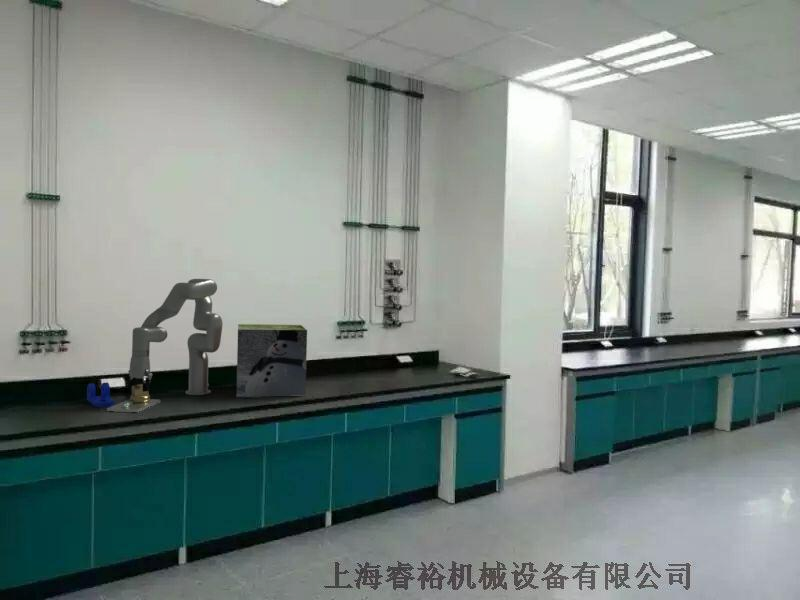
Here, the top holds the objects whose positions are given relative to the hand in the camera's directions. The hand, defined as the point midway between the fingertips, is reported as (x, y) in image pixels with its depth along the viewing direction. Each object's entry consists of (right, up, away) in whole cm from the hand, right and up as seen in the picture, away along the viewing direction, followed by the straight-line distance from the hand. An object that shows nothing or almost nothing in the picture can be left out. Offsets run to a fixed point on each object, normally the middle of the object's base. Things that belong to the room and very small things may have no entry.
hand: (139, 389), depth 279 cm
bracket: (-18, -7, +1) cm, 20 cm away
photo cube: (+52, -8, +45) cm, 69 cm away
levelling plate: (0, -7, -5) cm, 8 cm away
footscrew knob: (-1, -5, 0) cm, 5 cm away
